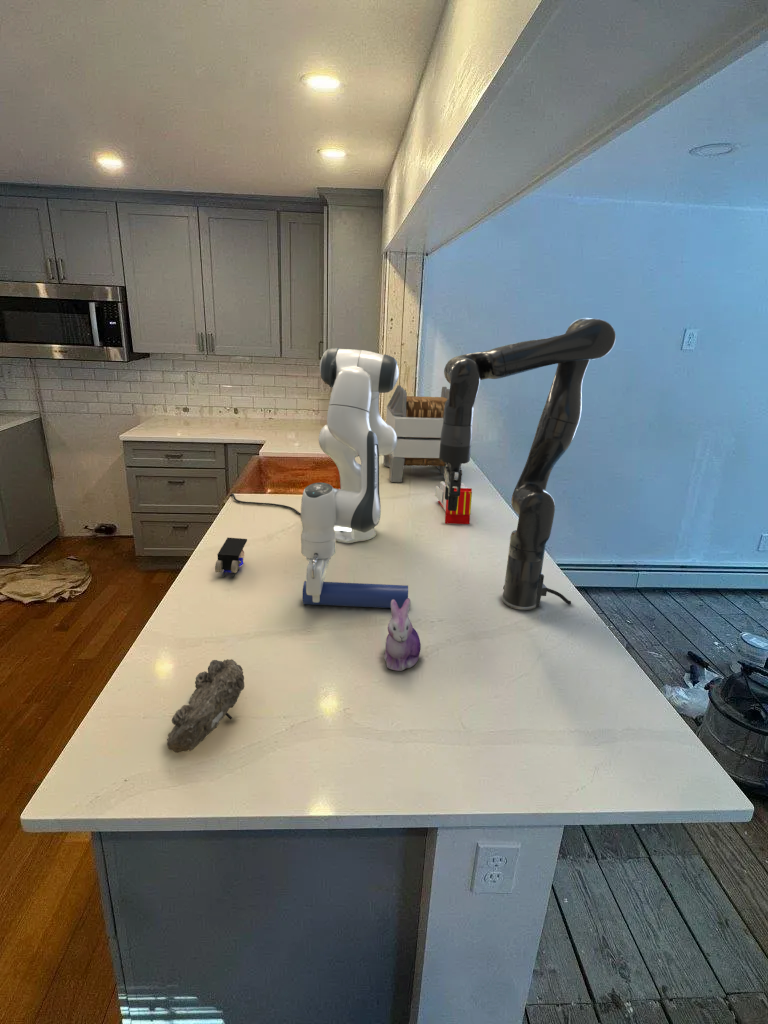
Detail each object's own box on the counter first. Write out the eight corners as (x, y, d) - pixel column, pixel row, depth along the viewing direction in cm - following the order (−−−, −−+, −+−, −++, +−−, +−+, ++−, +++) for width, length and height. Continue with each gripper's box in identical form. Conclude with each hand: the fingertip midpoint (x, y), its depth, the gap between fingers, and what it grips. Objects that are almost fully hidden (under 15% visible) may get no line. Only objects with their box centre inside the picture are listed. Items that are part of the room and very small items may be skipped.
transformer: (382, 463, 289) (386, 382, 275) (445, 464, 293) (451, 384, 279) (390, 482, 257) (394, 392, 243) (460, 483, 261) (468, 394, 247)
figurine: (394, 677, 122) (397, 616, 117) (372, 652, 130) (375, 594, 125) (431, 667, 126) (436, 607, 121) (408, 643, 134) (412, 587, 129)
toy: (463, 477, 236) (476, 489, 206) (461, 509, 239) (474, 525, 209) (433, 476, 235) (443, 488, 206) (432, 508, 238) (441, 524, 209)
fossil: (192, 660, 117) (244, 628, 112) (224, 691, 120) (276, 661, 115) (142, 746, 98) (202, 712, 93) (182, 779, 101) (242, 748, 96)
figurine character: (238, 584, 162) (249, 557, 175) (236, 562, 158) (247, 536, 172) (215, 584, 161) (227, 556, 175) (212, 561, 158) (225, 535, 171)
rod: (302, 608, 148) (302, 587, 146) (305, 597, 154) (305, 576, 152) (407, 613, 148) (408, 592, 146) (406, 601, 154) (407, 581, 152)
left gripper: (325, 564, 136) (325, 614, 140) (334, 532, 155) (333, 577, 160) (299, 562, 136) (300, 613, 140) (311, 531, 155) (311, 576, 160)
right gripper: (475, 449, 131) (468, 515, 137) (467, 436, 144) (462, 496, 150) (442, 447, 131) (437, 513, 137) (438, 435, 144) (433, 495, 150)
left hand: (318, 594), depth 150 cm, fingers closed on rod, 6 cm apart
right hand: (450, 504), depth 143 cm, fingers open, 8 cm apart
